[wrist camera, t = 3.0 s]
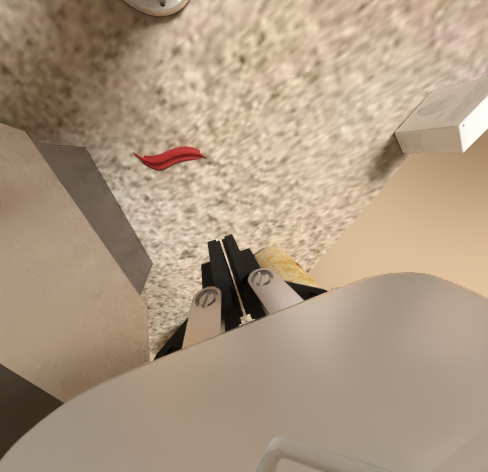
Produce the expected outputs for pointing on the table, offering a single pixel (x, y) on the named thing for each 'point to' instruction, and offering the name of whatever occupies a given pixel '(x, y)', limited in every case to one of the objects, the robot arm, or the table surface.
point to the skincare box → (447, 119)
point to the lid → (55, 296)
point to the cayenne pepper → (171, 157)
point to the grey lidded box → (99, 208)
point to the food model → (284, 266)
